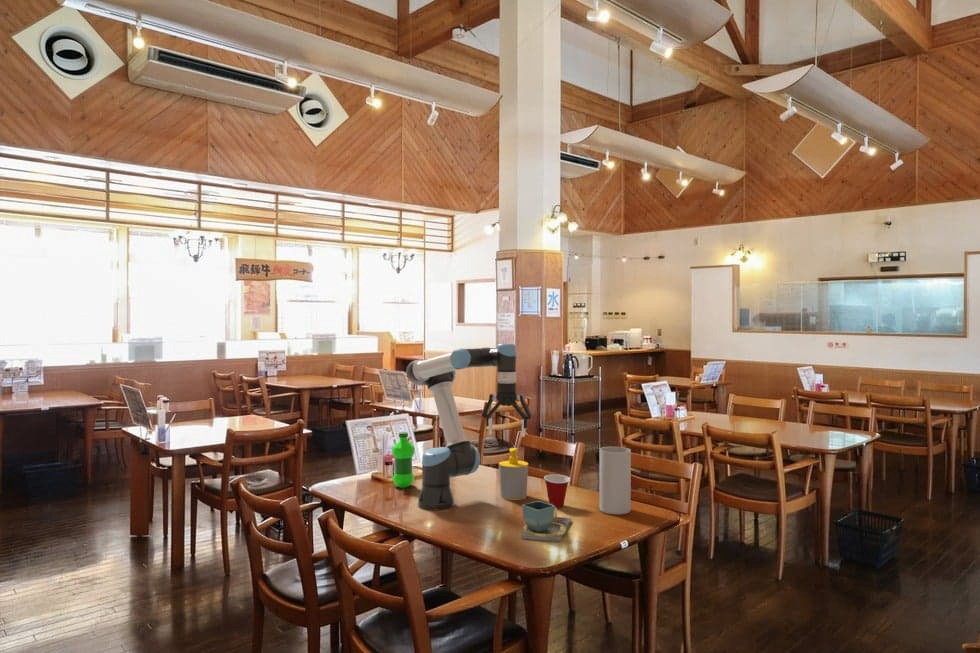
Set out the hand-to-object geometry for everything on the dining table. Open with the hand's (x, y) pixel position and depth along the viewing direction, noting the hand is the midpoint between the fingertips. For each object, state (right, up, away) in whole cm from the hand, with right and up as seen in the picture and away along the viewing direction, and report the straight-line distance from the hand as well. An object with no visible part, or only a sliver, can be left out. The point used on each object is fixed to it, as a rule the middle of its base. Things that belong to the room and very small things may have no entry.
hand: (506, 435), depth 257 cm
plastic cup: (+21, -32, +13) cm, 40 cm away
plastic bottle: (-47, -32, +45) cm, 73 cm away
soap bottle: (+4, -32, +27) cm, 42 cm away
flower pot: (+11, -31, -22) cm, 39 cm away
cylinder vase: (+44, -32, +6) cm, 55 cm away
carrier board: (+15, -32, -18) cm, 39 cm away
